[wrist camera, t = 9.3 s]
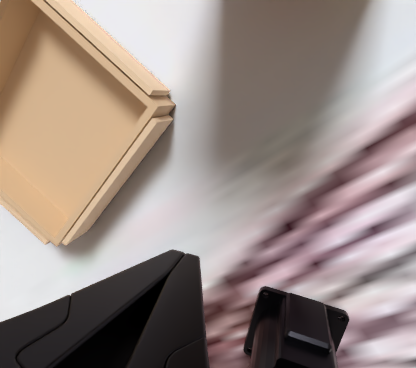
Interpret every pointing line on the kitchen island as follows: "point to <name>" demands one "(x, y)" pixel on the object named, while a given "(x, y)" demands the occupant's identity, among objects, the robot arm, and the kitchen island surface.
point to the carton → (69, 117)
